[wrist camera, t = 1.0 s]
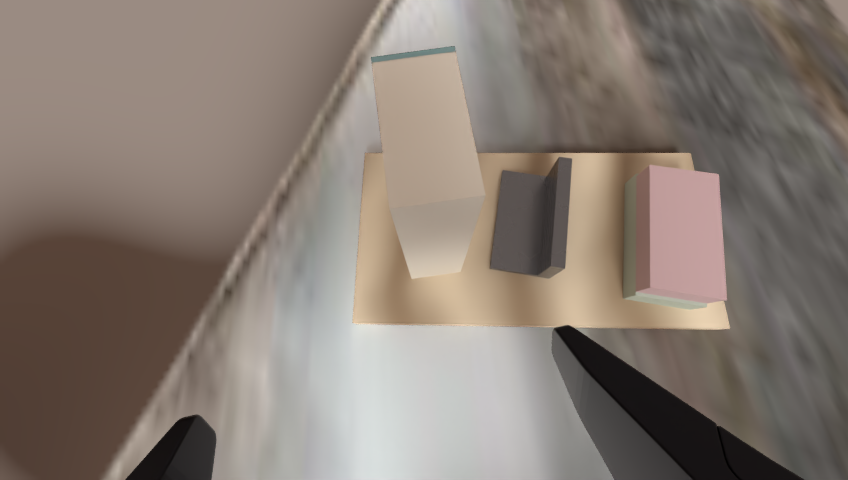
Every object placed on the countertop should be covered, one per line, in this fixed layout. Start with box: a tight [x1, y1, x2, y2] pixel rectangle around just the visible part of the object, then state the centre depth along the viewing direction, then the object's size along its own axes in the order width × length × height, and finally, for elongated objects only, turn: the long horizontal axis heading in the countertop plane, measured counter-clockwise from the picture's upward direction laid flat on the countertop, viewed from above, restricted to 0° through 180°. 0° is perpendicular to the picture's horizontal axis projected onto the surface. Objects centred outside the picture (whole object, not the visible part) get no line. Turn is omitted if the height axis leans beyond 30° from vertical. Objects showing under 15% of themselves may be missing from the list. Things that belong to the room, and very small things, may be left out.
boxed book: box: [371, 46, 486, 279], centre depth 19 cm, size 6×3×12 cm, turn 8°
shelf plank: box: [352, 153, 730, 330], centre depth 25 cm, size 23×12×1 cm, turn 89°
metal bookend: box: [490, 157, 572, 279], centre depth 23 cm, size 7×4×3 cm, turn 170°
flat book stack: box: [623, 165, 727, 310], centre depth 22 cm, size 8×4×3 cm, turn 170°
